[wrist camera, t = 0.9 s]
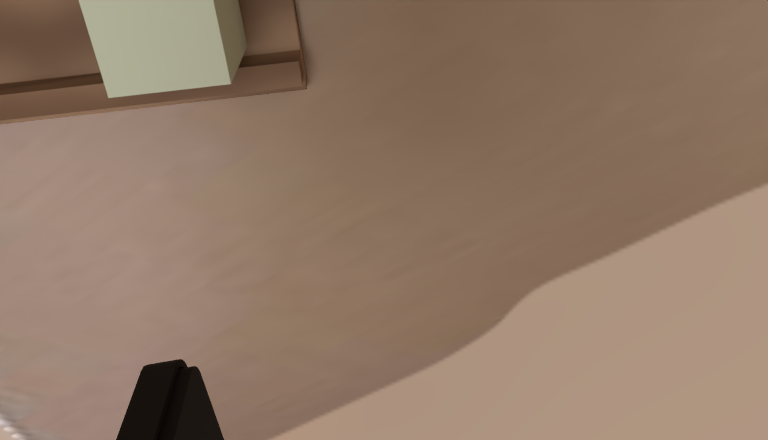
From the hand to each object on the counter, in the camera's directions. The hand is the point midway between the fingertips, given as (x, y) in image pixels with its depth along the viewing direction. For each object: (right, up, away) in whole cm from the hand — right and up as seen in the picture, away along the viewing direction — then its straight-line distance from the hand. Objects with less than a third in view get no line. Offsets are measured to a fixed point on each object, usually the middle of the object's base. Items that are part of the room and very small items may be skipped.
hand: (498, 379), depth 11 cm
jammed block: (-11, +13, +21) cm, 27 cm away
